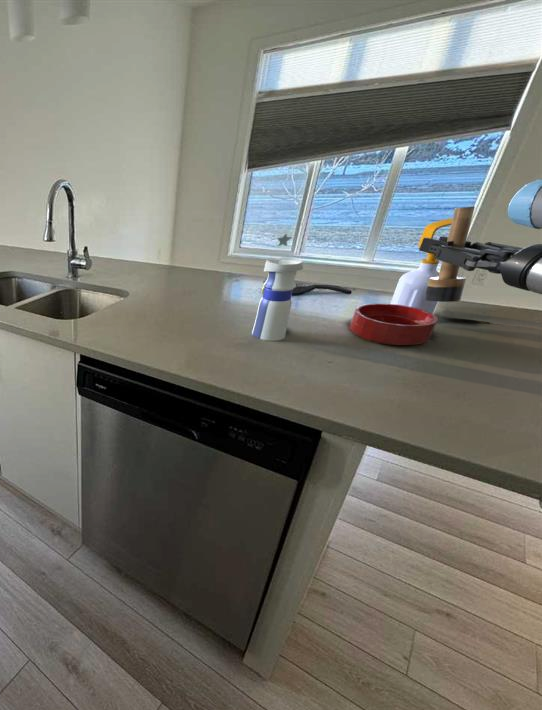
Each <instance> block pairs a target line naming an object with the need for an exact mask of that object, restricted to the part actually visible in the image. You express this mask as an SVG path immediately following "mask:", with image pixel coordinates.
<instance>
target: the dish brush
mask: <svg viewBox="0 0 542 710" xmlns="http://www.w3.org/2000/svg"><path fill="white" fill-rule="evenodd" d="M475 209H476V206H466V207H463V206H462V207H455V208H454V210H453V215H452V223H451V225H450V227H449V231H448V236H447V237H448V239H447V241H454V244H453V245H454V246H460V247H465V243H466V241H467V239H468V235H469V231H470V228H471V224H472V221H473V216H474V212H475ZM459 270H460V267H459V266H456V265H452V264H449V263H446V262H443V261H441V264H440V269H439V277H433V278H429V281H428V286H427V290H426V294H425V298H424V300H427V301H437V302H438V303H439V302H441V303H443V302H444V303H447V302H448V303H449V302H450V303H452V302H459V301H461V299H462V296H463V291H464V287H465V284H466V280H467V277H464V276H463V277H461V276H458V274H459Z"/></svg>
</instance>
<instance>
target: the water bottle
mask: <svg viewBox="0 0 542 710" xmlns="http://www.w3.org/2000/svg"><path fill="white" fill-rule="evenodd" d="M292 238H293V237H292V236H288V235H287V232H285V233H284V234H283V236H281V237H276V240H278V242H279V243H278V244H277V247H280V246H285V247H288V241H289V240H291V239H292ZM303 269H304V264H303V260H302V259H299V258H295V257H291V256H289V257H288V256H282V257H279V259H278V263H274V262H271V261H270V260H269V259H266V261H265V264H264V268H263V273H266V272H268V275H267V277H266V278H267V280H265V281H266V282H265V283H264V284H263V283H262V284H263V286H262V288H261V294H262V297H261V298H260V300H259V303H258V307H257V312H256V315H255V321H254V324H253V328H252V331H251V335H252V336H253V337H254V338H257V339H259V340H262V341H271V342H276V341H277V342H278V341H281V340H284V339H285V338H286V335H287V327H288V323H289V319H290V318H289V317H290V313H291V309H292V292H293V289H294V288H295V287H296V285H297V284H296V281H295V279H296V275H297V273H298V272H299V271H301V270H303Z"/></svg>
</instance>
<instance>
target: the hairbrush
mask: <svg viewBox="0 0 542 710" xmlns="http://www.w3.org/2000/svg"><path fill="white" fill-rule="evenodd" d="M267 278H268V277H266V278H265V280H263V282H262V284H264V283H265V282H266V280H267ZM295 285H296V287H295V288H294V289H293V292H292V296H300V295H304V294H306V293H309V292H312V291H313V290H330V291H333V292H338V293H342V294H347V295H351V294H352V292H353V291H352V290H351V289H348V288H345V287H343V286H339V285H333V284H310V283H309V284H308V283H306V284H304V285H303V283H299V284H295ZM292 296H291V297H292Z"/></svg>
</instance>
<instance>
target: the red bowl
mask: <svg viewBox="0 0 542 710" xmlns="http://www.w3.org/2000/svg"><path fill="white" fill-rule="evenodd" d="M438 321H439V319H438V316H436V315H435V314H434V313H433V314H432V313H430V312H427V311H425V310H422V309H418V308H414V307H410V306H404V305H397V304H390V303H384V302H383V303H382V302H381V303H377V302H375V303H365V304H360V305H359V306H357V307H356V308H355V309H354V311H353V314H352V318H351V320H350V324H349V330H350V331H351V332H352V334H355V335H356V336H359V337H361V338H363V339H365V340H368V341H371V342H374V343H378V344H383V345H391V346H411V345H413V346H414V345H421V344H423V343H424V344H425V343H427V342H428V341H429V340H430V339H431V337H432V335H433V332H434V330H435V328H436V325H437V324H438Z"/></svg>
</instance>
